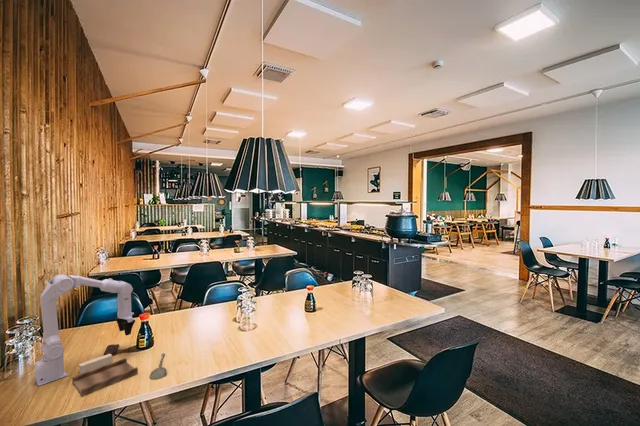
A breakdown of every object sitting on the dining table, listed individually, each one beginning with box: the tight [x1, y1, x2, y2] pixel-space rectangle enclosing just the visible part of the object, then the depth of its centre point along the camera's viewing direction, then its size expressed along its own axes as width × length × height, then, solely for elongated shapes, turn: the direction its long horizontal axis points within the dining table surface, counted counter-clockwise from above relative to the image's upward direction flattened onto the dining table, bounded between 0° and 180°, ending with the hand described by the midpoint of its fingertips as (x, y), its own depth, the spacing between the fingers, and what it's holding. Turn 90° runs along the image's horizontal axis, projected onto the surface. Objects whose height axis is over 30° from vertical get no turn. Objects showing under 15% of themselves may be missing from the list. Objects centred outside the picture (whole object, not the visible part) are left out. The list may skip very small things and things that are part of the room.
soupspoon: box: [149, 353, 168, 381], centre depth 140 cm, size 22×3×7 cm
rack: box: [71, 357, 139, 397], centre depth 131 cm, size 20×14×3 cm
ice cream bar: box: [102, 343, 120, 356], centre depth 153 cm, size 5×2×15 cm
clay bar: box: [78, 354, 113, 375], centre depth 139 cm, size 12×3×4 cm, turn 142°
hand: (125, 332), depth 153 cm, fingers open, 7 cm apart
